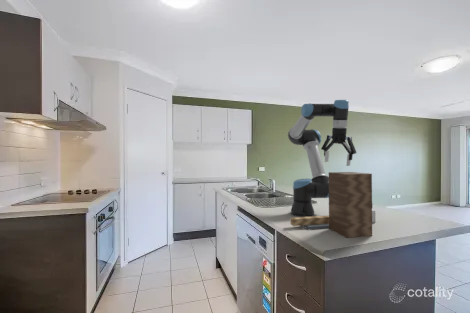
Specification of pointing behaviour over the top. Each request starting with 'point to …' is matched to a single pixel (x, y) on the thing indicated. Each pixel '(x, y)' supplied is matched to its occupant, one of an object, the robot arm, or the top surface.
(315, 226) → the mat
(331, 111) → the robot arm
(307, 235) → the top surface
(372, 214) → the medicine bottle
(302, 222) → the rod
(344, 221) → the stand
